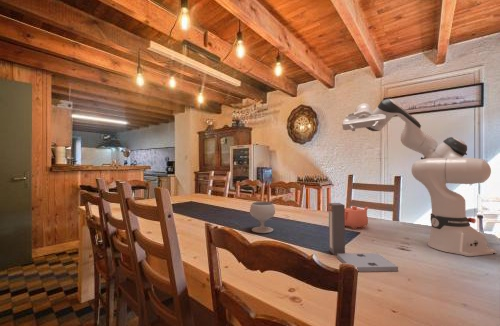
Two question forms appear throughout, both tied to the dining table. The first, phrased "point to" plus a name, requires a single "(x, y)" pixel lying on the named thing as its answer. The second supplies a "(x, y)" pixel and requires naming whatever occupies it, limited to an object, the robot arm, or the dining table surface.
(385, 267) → the mounting plate
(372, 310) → the dining table surface
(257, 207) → the chalice
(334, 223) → the tall taupe pillar
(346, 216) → the teapot
